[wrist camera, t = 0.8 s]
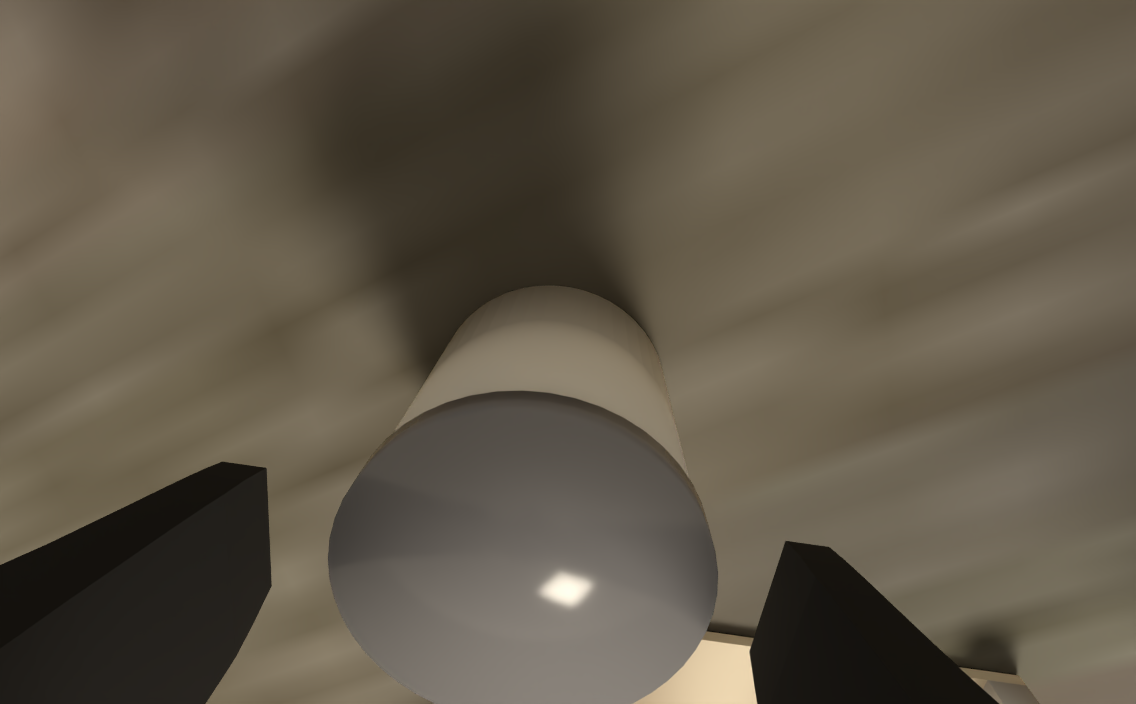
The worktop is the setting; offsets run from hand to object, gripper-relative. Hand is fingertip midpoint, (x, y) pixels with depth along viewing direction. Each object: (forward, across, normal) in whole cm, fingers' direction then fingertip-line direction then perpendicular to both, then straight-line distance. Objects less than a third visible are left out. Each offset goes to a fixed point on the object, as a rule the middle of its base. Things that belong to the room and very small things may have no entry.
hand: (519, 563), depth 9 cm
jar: (+6, 0, 0) cm, 6 cm away
